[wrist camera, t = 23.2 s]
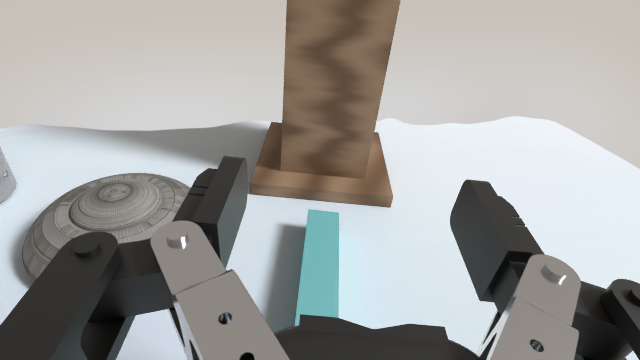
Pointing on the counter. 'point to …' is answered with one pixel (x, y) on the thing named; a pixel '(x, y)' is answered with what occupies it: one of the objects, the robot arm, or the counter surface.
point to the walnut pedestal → (330, 105)
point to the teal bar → (319, 266)
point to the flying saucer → (103, 214)
